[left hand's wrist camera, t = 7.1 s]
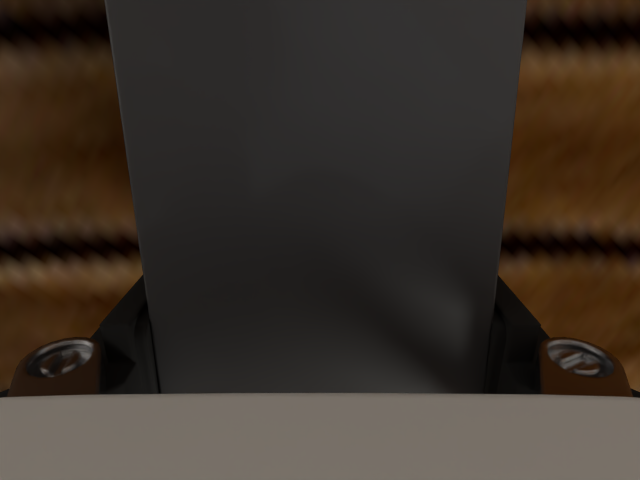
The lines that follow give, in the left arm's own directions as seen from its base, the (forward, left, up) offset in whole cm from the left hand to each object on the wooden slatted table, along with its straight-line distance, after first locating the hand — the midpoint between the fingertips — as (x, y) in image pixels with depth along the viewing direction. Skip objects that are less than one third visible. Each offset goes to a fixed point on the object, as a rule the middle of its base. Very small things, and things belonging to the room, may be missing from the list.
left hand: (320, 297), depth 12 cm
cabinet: (+6, +2, -7) cm, 9 cm away
